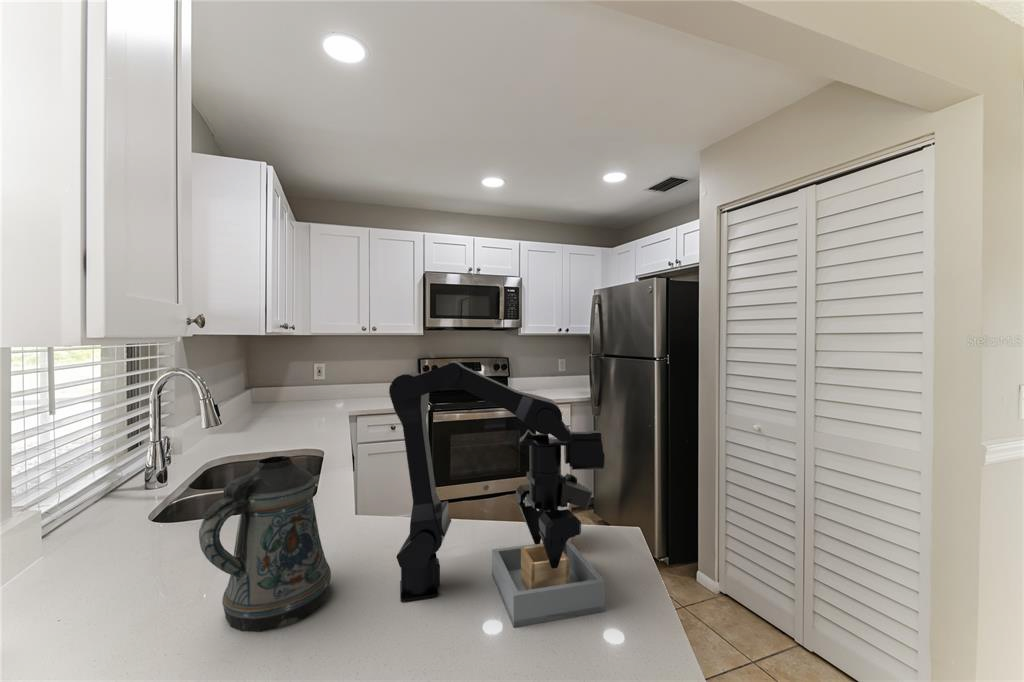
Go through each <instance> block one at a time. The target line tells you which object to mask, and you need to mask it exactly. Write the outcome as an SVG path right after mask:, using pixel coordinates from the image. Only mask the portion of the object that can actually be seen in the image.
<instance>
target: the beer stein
mask: <svg viewBox="0 0 1024 682" xmlns="http://www.w3.org/2000/svg"><path fill="white" fill-rule="evenodd" d="M316 485H317V479H316V477H315V476H314V475H313V474H312V473H310V472H309V471H308V470H306V469H304V468H302V467H300V466H298V465H297V464H295V463H293V462H292V460H291V458H290V456H286V455H278V456H277V455H276V456H275V455H274V456H270V457H266V458H263V459H260V460H259V461H257V464H256V466H255V468H253V469H252V470H251V471H250V472H249V473H248V474H247V475H244V476H240V477H238V478H235V479H232V480H230V481H229V482H227V483H226V484H225V486H224V489H223V498H221V499H220V500H217V501H215V502H214V503H213V504H212V505H210V507H208V509H206V511H205V512H204V514H203V519H202V521H201V524H200V527H199V529H198V541H199V546H200V549H201V552H202V554H203V555H204V556H205V558H206V559H207V560H208V561H209V562H210V563H211V564H212V565H213V566H214V567H216V568H217V569H219V571H220V570H221V571H222V572H224V573H225V574H227V575H230V576H229V580H228V582H227V586H226V587H225V590H224V592H223V595H222V602H221V604H222V608H223V611H224V615H225V617H224V618H225V619H226V621H227V622H228V624H229V626H230V627H231V628H232V629H236V630H238V631H240V632H249V633H251V632H254V633H260V632H261V633H262V632H268V631H272V630H277V629H282V628H284V627H287V626H290V625H293V624H296V623H299V622H300V621H302V620H303V619H305V618H307V617H308V616H310V615H312V614H313V613H314V612H315V611H316V610H318V609H319V608H321V607H322V605H323V604H324V603H325V601H326V600H327V599H328V591H329V587H330V582H331V577H332V571H331V568H330V565H329V563H328V561H327V558H326V555H325V553H324V549H323V545H322V540H321V538H320V532H319V527H318V520H317V515H316V509H315V508H316V507H315V503H314V492H315V491H316ZM238 515H239V518H238V522H237V530H236V535H235V542H234V548H233V550H234V551H233V555H232V553H230V552H229V551H228V550H227V549H226V548H225V547H224V546H223V544H222V542H221V539H220V537H221V536H220V535H221V530H222V527H223V526H224V524H225V522H226V521H227V520H228V519H230V517H233V516H238Z"/></svg>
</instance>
